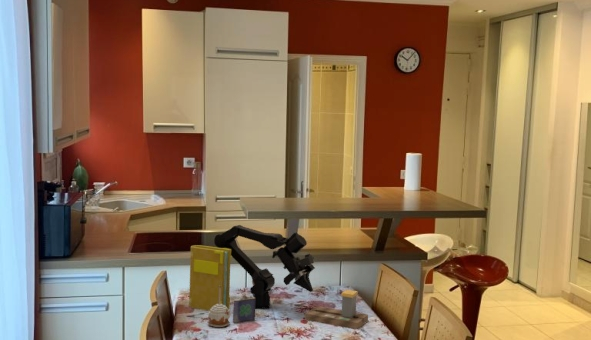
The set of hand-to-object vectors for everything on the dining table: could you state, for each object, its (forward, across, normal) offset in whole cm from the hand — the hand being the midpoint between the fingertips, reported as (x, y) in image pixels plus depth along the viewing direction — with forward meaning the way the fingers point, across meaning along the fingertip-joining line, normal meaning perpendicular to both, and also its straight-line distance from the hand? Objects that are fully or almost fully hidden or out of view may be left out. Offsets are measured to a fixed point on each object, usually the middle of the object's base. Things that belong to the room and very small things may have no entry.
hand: (311, 291), depth 233 cm
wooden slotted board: (+15, 0, -1) cm, 15 cm away
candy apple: (-10, -29, +25) cm, 40 cm away
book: (-21, -13, +37) cm, 44 cm away
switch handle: (+18, 0, -5) cm, 18 cm away
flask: (-6, -20, +21) cm, 30 cm away
